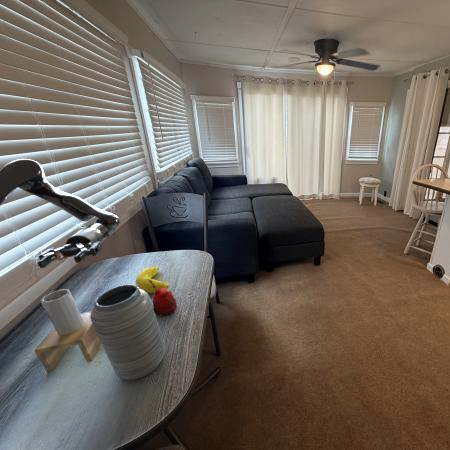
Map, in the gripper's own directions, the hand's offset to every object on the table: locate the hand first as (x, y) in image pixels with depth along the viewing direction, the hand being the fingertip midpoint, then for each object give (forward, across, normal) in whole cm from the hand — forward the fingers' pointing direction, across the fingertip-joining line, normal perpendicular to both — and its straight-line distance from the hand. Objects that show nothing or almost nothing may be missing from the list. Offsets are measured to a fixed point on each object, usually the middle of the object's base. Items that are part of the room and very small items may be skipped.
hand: (58, 262), depth 70 cm
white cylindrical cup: (+11, +3, +16) cm, 19 cm away
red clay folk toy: (+2, +24, +24) cm, 34 cm away
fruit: (-18, +15, +24) cm, 33 cm away
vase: (+23, +22, +24) cm, 40 cm away
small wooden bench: (+11, +3, +24) cm, 26 cm away
